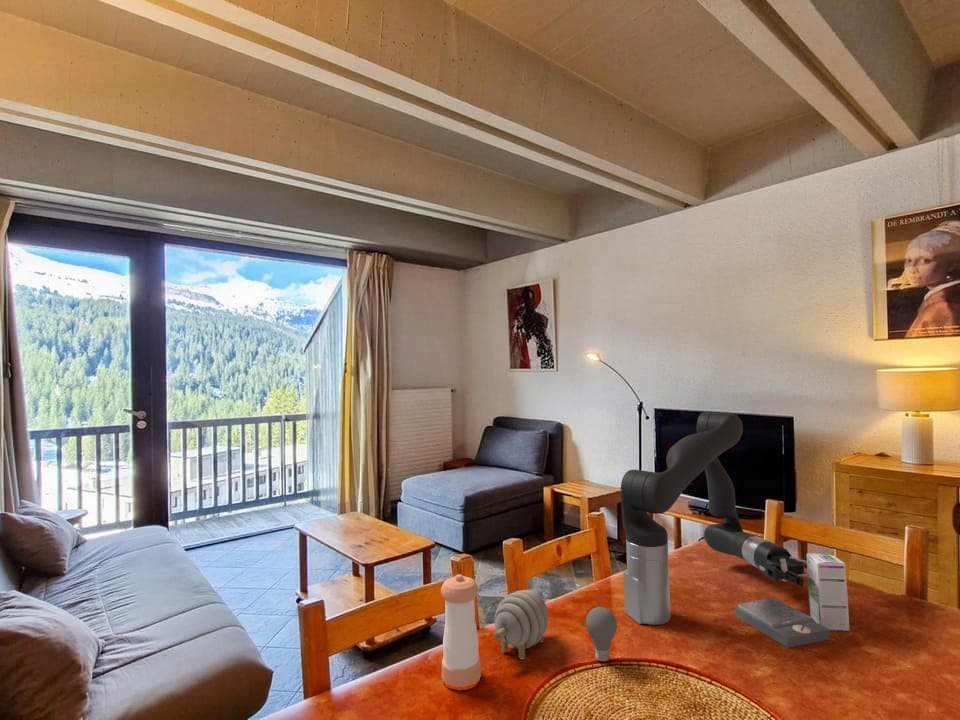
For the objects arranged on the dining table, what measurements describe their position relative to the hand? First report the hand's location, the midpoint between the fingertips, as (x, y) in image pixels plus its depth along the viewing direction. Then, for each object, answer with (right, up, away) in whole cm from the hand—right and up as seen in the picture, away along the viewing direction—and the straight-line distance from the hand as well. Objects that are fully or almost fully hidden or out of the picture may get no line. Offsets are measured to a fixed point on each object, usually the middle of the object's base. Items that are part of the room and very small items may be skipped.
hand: (818, 580), depth 112 cm
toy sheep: (-68, -10, -9) cm, 69 cm away
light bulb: (-52, -9, -14) cm, 55 cm away
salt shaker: (-80, -10, -19) cm, 83 cm away
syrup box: (+1, -9, -3) cm, 9 cm away
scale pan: (-11, -7, -2) cm, 13 cm away
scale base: (-11, -9, -3) cm, 14 cm away
